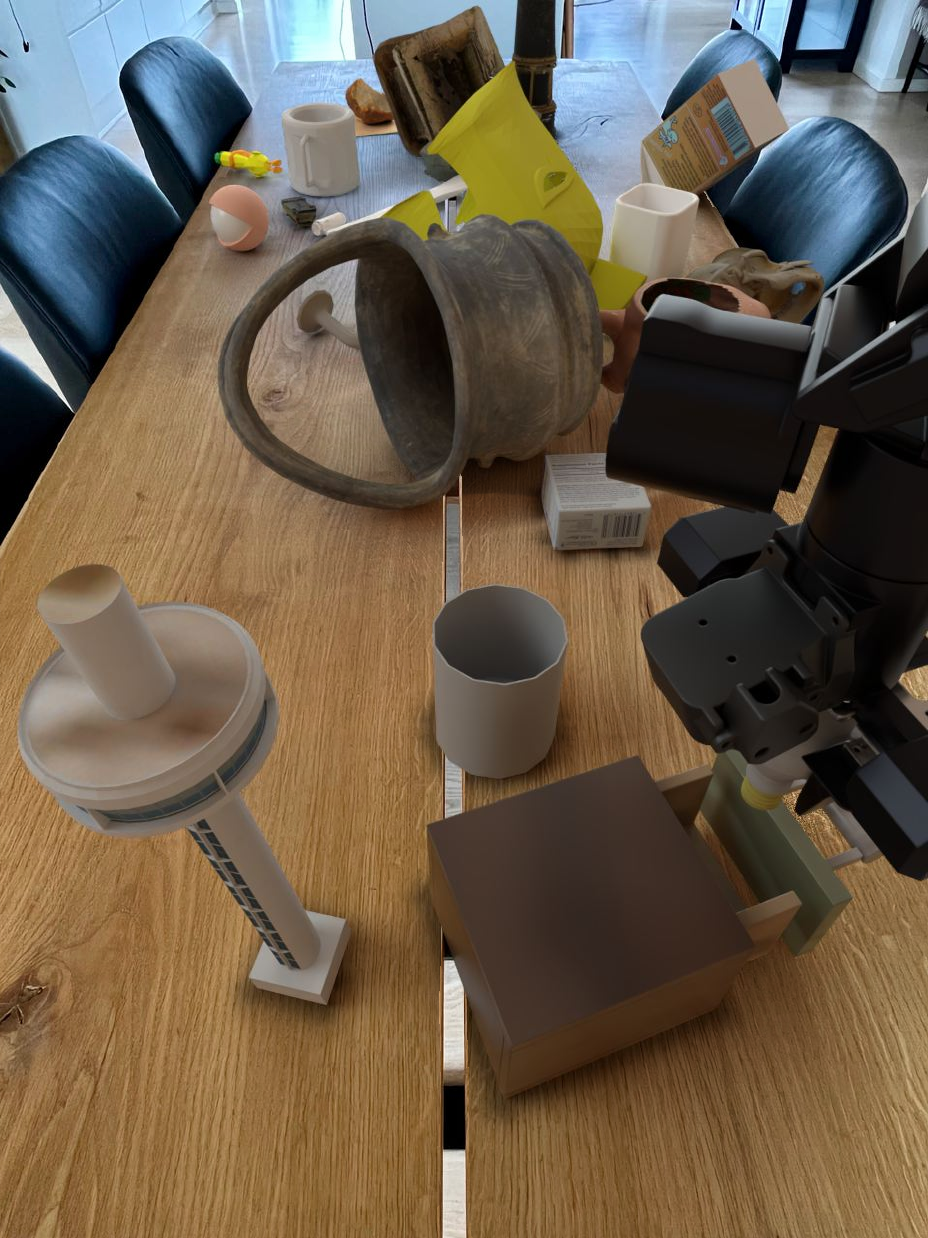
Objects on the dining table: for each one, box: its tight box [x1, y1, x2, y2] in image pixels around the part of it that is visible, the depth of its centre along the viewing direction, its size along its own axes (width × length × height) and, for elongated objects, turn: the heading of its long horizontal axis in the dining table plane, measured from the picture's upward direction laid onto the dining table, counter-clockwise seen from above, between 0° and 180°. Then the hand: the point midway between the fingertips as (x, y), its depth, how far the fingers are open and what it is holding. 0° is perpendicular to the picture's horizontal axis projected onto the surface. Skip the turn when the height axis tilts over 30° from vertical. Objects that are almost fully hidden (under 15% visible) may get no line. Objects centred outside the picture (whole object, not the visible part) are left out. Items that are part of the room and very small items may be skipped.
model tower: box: [17, 563, 352, 1006], centre depth 36 cm, size 8×8×30 cm
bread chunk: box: [344, 77, 398, 137], centre depth 149 cm, size 15×11×11 cm
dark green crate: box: [280, 196, 318, 228], centre depth 119 cm, size 4×8×2 cm, turn 25°
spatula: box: [325, 175, 468, 236], centre depth 121 cm, size 28×4×2 cm, turn 137°
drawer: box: [654, 750, 884, 963], centre depth 47 cm, size 16×10×7 cm, turn 111°
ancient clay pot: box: [216, 214, 604, 511], centre depth 72 cm, size 22×23×30 cm
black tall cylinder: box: [511, 0, 558, 139], centre depth 136 cm, size 9×9×30 cm
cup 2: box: [608, 183, 700, 285], centre depth 92 cm, size 7×7×15 cm
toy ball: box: [208, 184, 270, 252], centre depth 111 cm, size 8×8×8 cm
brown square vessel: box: [371, 5, 506, 159], centre depth 138 cm, size 22×24×20 cm
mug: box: [280, 102, 361, 197], centre depth 125 cm, size 14×11×10 cm
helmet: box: [380, 59, 648, 310], centre depth 90 cm, size 16×23×30 cm
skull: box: [685, 247, 825, 325], centre depth 91 cm, size 12×18×12 cm
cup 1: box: [432, 583, 569, 780], centre depth 55 cm, size 8×8×10 cm
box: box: [540, 452, 653, 551], centre depth 72 cm, size 8×4×9 cm
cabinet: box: [425, 754, 756, 1100], centre depth 45 cm, size 13×12×9 cm
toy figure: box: [214, 149, 283, 179], centre depth 132 cm, size 7×4×12 cm
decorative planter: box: [599, 277, 771, 395], centre depth 79 cm, size 20×12×14 cm, turn 87°
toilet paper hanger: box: [296, 289, 360, 350], centre depth 99 cm, size 25×8×5 cm, turn 136°
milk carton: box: [639, 58, 790, 196], centre depth 122 cm, size 11×11×19 cm
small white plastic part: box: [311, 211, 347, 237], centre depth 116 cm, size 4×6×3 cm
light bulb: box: [741, 710, 858, 811], centre depth 40 cm, size 6×6×10 cm
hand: (773, 768), depth 42 cm, fingers closed on light bulb, 5 cm apart
